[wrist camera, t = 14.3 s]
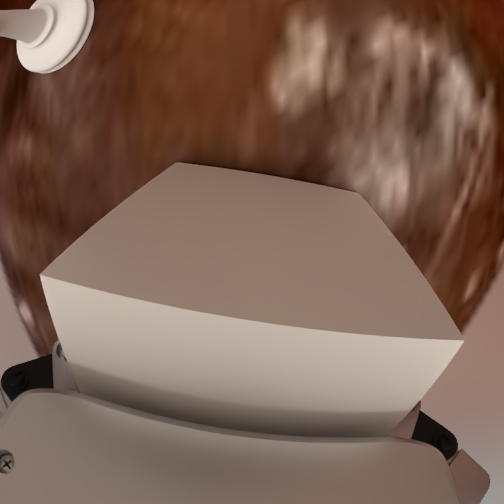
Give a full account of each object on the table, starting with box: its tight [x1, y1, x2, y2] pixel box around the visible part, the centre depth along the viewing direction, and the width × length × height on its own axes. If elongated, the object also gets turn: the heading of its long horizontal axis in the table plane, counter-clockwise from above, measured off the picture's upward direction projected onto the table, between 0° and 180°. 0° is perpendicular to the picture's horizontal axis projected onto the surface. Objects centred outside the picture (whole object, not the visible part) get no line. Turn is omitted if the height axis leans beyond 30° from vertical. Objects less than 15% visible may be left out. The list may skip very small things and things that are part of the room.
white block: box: [40, 162, 464, 437], centre depth 11 cm, size 10×8×9 cm
